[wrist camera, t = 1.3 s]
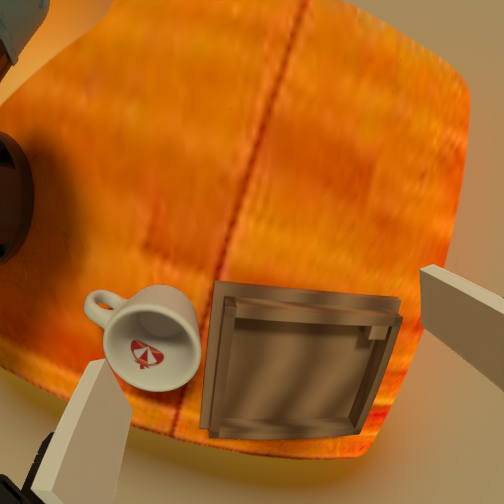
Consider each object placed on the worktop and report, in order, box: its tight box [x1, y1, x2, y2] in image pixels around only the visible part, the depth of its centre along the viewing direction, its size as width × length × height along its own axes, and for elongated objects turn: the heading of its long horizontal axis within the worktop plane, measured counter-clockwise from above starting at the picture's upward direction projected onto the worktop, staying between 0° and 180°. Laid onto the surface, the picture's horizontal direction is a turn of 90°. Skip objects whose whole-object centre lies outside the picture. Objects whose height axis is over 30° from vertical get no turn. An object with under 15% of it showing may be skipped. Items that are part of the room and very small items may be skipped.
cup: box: [84, 285, 202, 392], centre depth 27 cm, size 11×8×8 cm
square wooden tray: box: [200, 280, 403, 440], centre depth 32 cm, size 20×18×4 cm
